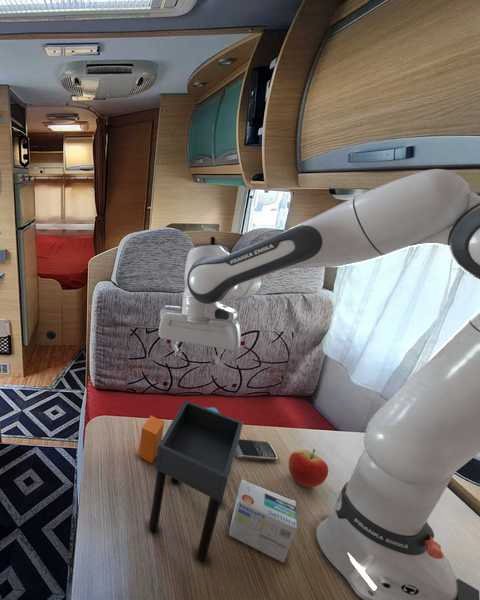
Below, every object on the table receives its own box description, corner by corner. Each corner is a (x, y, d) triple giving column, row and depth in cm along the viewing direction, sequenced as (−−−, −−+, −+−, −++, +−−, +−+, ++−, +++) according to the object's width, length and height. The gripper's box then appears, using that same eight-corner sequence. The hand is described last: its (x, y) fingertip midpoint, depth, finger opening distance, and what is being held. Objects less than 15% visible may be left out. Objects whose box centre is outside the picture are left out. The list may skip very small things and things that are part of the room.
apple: (279, 479, 84) (289, 449, 81) (290, 462, 89) (300, 434, 86) (315, 501, 79) (328, 471, 75) (325, 482, 84) (337, 453, 80)
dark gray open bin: (238, 444, 72) (243, 422, 69) (221, 502, 59) (227, 478, 57) (181, 420, 78) (184, 400, 76) (155, 468, 65) (158, 445, 63)
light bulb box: (284, 535, 71) (297, 500, 67) (284, 565, 66) (298, 529, 62) (231, 510, 76) (241, 476, 72) (227, 536, 71) (237, 501, 67)
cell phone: (278, 462, 89) (279, 458, 89) (236, 459, 90) (237, 455, 89) (268, 445, 95) (269, 441, 94) (229, 441, 96) (229, 438, 95)
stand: (222, 501, 78) (236, 444, 72) (204, 564, 66) (220, 501, 59) (172, 476, 84) (181, 421, 78) (147, 529, 72) (156, 468, 65)
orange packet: (160, 448, 93) (164, 421, 89) (152, 463, 88) (156, 434, 84) (147, 442, 95) (150, 415, 91) (138, 456, 90) (141, 428, 87)
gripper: (156, 305, 87) (153, 355, 89) (241, 315, 76) (235, 372, 78) (164, 303, 92) (161, 350, 94) (244, 311, 81) (239, 365, 83)
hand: (195, 360), depth 86 cm, fingers open, 8 cm apart
